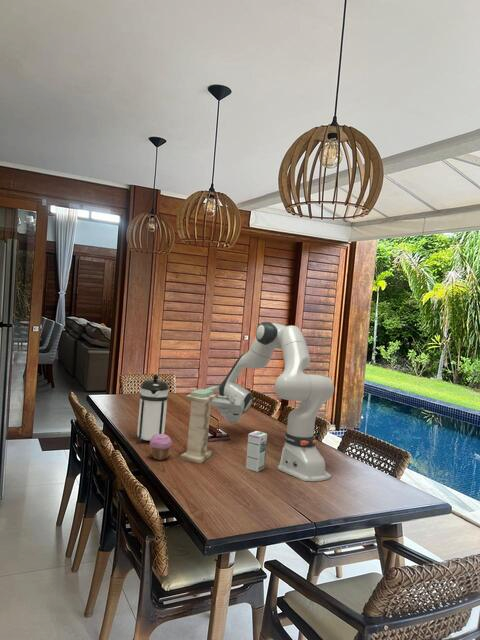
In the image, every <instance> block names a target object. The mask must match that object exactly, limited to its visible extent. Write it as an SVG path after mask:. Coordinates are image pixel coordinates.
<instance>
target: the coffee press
mask: <svg viewBox="0 0 480 640" xmlns="http://www.w3.org/2000/svg"><path fill="white" fill-rule="evenodd" d="M152 378H153V379H146V380H143V381H142V383H141V384H140V385H139V387H140V394H139V398H140V399H139V408H138V420H137V432H136V435H137V439H136V441H135V442H136V443H137V444H141V443H142V442H143V441H149V442H150V440H151V438H152V436H153V435H156V434H165V428H166V417H167V416H166V415H167V405H168V400H169V394H168V393H169V389H170V386H169V384H168V382H166V381H164V380H162V379H159V376H158V374H154V375H153V376H152Z"/></svg>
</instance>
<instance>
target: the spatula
mask: <svg viewBox="0 0 480 640" xmlns="http://www.w3.org/2000/svg"><path fill="white" fill-rule="evenodd" d="M215 392H219V386H216V385H213V386H210V387H207V388H205V389H204V388H199V389H196V390H193V391H191V392H190V394H191V395H190V394H189V395H190V396H193V397H199V398H206V397H208V396H211V395H213V394H214V393H215Z"/></svg>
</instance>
